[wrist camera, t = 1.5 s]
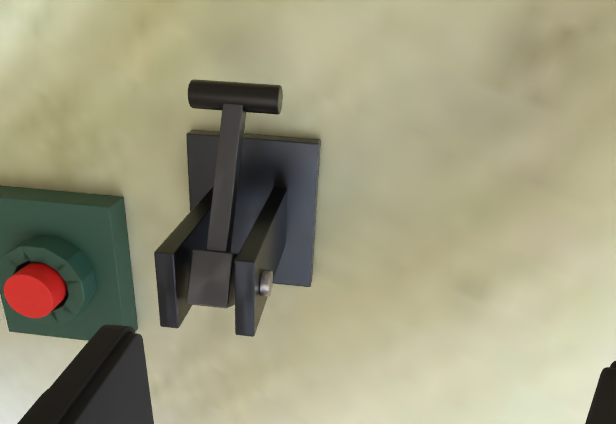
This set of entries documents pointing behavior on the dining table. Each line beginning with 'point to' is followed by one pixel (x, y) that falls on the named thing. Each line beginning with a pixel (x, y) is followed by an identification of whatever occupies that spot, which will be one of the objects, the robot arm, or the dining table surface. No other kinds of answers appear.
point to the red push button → (35, 290)
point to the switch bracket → (246, 224)
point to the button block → (69, 258)
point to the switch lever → (224, 184)
